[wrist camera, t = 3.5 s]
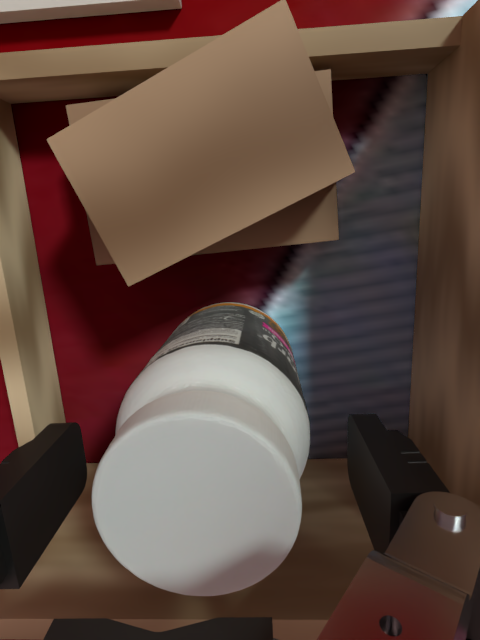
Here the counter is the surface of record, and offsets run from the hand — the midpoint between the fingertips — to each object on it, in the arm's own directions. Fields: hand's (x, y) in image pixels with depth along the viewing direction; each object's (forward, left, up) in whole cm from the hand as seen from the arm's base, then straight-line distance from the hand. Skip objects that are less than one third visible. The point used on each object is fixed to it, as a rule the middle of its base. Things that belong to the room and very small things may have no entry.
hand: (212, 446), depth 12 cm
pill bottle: (0, 0, -7) cm, 7 cm away
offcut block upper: (-8, 0, -4) cm, 9 cm away
